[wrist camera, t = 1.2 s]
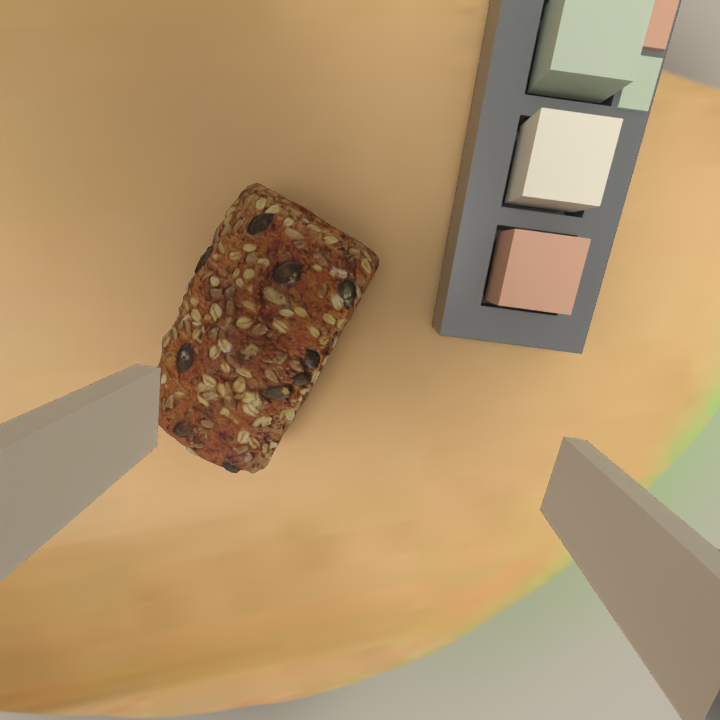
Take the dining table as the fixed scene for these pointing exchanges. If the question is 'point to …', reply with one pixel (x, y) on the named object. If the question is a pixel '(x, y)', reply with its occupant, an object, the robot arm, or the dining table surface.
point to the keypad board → (492, 172)
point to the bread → (257, 328)
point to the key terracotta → (536, 270)
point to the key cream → (562, 160)
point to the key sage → (589, 48)
